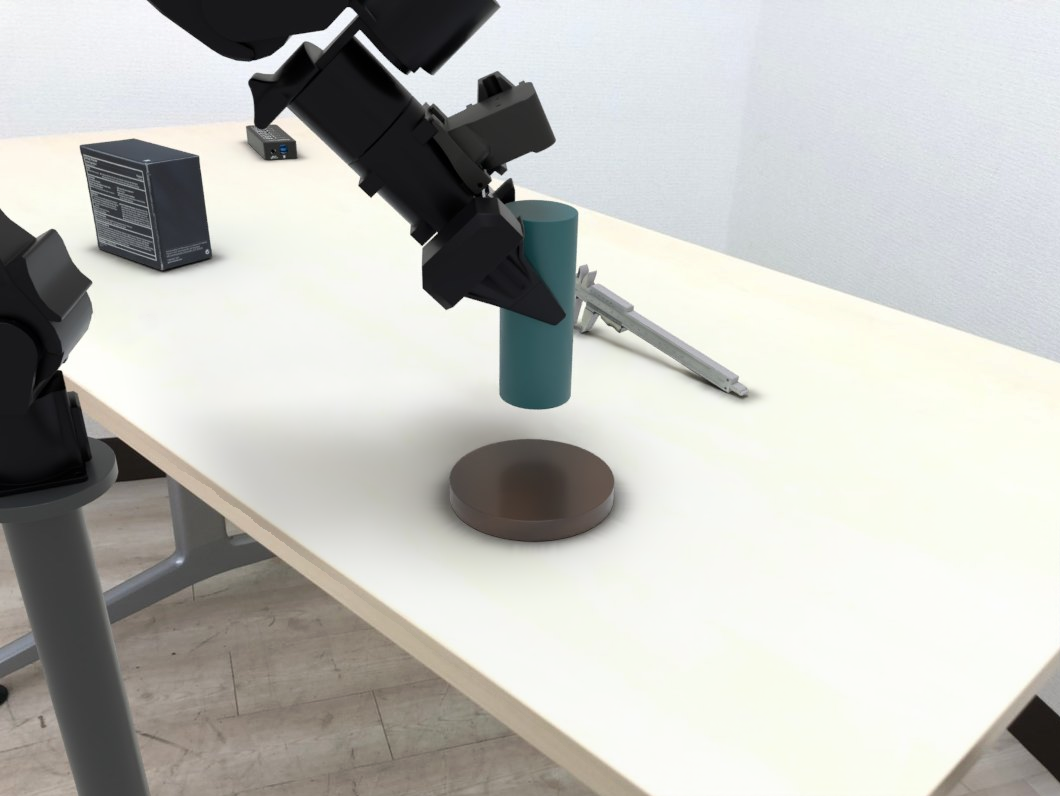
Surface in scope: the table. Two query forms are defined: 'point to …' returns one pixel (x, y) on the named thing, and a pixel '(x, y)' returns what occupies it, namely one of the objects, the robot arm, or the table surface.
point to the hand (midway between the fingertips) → (557, 305)
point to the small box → (147, 202)
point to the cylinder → (531, 345)
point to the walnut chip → (531, 489)
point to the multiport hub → (272, 142)
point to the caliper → (645, 330)
